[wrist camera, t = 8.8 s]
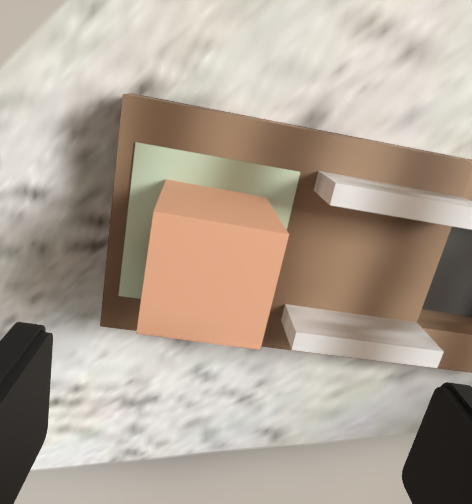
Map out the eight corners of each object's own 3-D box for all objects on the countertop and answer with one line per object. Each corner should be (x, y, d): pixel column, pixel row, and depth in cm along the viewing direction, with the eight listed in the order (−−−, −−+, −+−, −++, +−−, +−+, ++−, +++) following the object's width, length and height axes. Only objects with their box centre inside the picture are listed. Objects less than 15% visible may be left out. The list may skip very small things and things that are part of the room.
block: (266, 197, 22) (289, 234, 16) (246, 287, 24) (260, 349, 18) (166, 179, 21) (153, 211, 16) (152, 273, 23) (136, 333, 17)
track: (575, 180, 26) (678, 204, 21) (498, 352, 30) (567, 413, 24) (132, 93, 23) (109, 94, 17) (110, 301, 27) (86, 357, 21)
